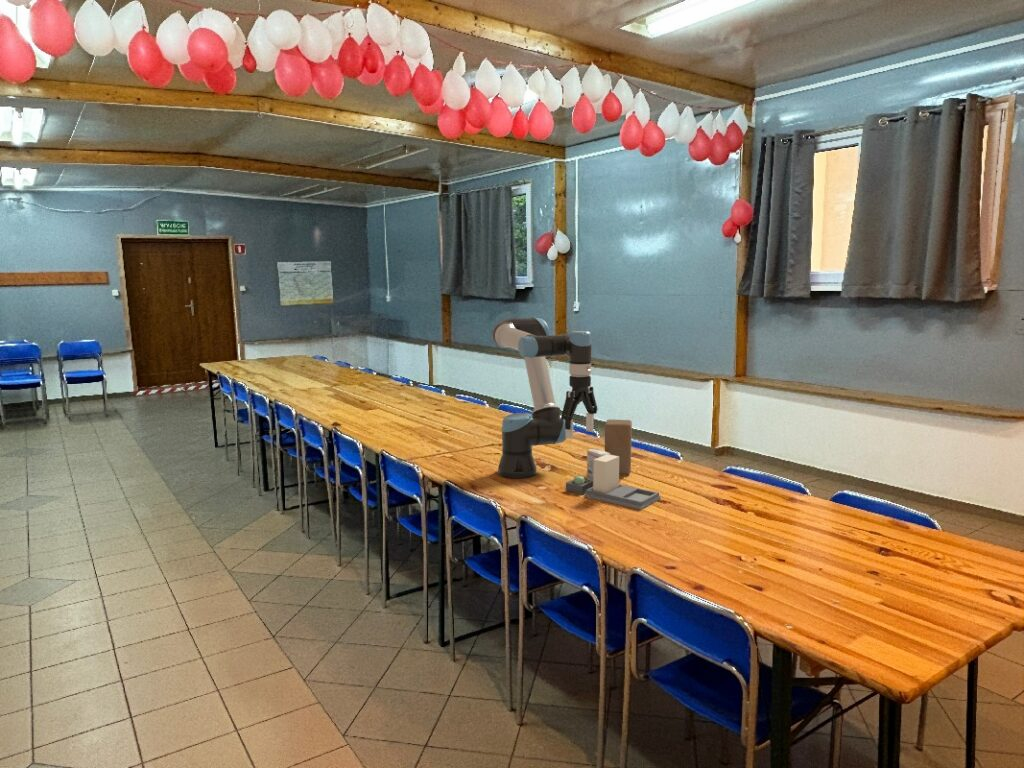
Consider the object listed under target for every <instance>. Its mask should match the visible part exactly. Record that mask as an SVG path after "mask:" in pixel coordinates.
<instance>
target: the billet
mask: <svg viewBox="0 0 1024 768" xmlns="http://www.w3.org/2000/svg"><path fill="white" fill-rule="evenodd" d="M619 484H620V474H619V456H614V455H609V454H606V455H604V456H601V457H599V458H596V459H594V476H593V491H598V492H602V493H609V492H611V491H613V490H615V489H617V488H619Z"/></svg>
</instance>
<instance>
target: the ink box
mask: <svg viewBox="0 0 1024 768" xmlns="http://www.w3.org/2000/svg"><path fill="white" fill-rule="evenodd" d="M586 453H587V455H586V458H587V459H586V461H587V462H586V480H588V481H592V482H593V476H594V459H596V458H599V457H601V456H604V455H606V454H609V455H610V453H608V452H605V450H602V449H599V448H593V449H587V450H586Z"/></svg>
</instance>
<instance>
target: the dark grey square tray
mask: <svg viewBox="0 0 1024 768" xmlns="http://www.w3.org/2000/svg"><path fill="white" fill-rule="evenodd" d="M591 487H593V482H592V481H589V480H587V479H584V484H582V485H580V484H575V483H574V479H571V480H569V481H567V482H565V492H570V493H575V494H579V495H585V493H586V490H587V489H589V488H591Z"/></svg>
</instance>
